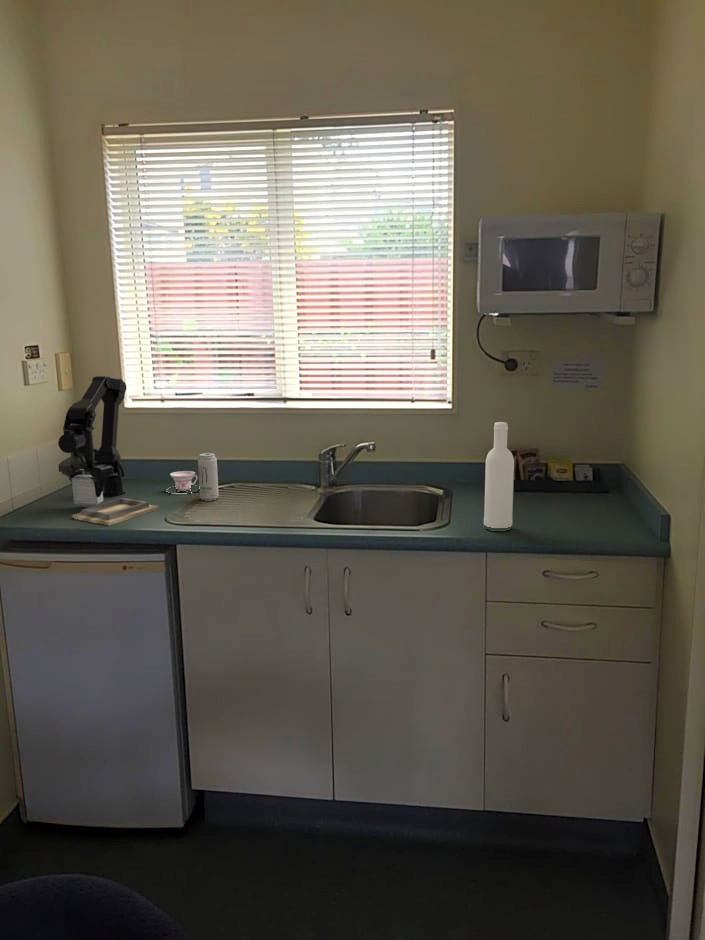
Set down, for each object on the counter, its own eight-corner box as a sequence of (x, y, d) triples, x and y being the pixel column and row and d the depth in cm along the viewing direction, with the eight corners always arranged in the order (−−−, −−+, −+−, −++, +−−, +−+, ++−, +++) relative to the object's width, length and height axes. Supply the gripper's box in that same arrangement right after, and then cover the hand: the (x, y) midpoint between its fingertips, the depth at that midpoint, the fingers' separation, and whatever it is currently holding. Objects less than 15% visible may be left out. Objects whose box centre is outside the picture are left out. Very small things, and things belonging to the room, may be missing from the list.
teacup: (166, 496, 256) (164, 478, 255) (165, 488, 268) (164, 470, 266) (202, 493, 259) (201, 476, 258) (200, 485, 270) (199, 468, 269)
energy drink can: (196, 500, 250) (193, 455, 246) (207, 496, 255) (204, 452, 252) (211, 502, 247) (209, 456, 244) (222, 498, 252) (220, 453, 249)
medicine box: (103, 501, 244) (101, 474, 242) (97, 505, 240) (95, 478, 238) (80, 501, 245) (77, 474, 243) (73, 504, 240) (71, 477, 238)
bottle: (489, 522, 221) (492, 419, 214) (516, 526, 217) (519, 421, 210) (479, 530, 214) (482, 424, 208) (506, 534, 210) (510, 426, 204)
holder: (71, 518, 231) (71, 510, 230) (122, 503, 248) (121, 495, 247) (109, 525, 223) (108, 517, 222) (158, 509, 240) (158, 501, 239)
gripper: (41, 448, 236) (46, 497, 239) (83, 454, 227) (88, 504, 230) (71, 442, 245) (75, 489, 249) (112, 447, 236) (116, 496, 240)
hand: (88, 495), depth 242 cm, fingers closed on medicine box, 9 cm apart
